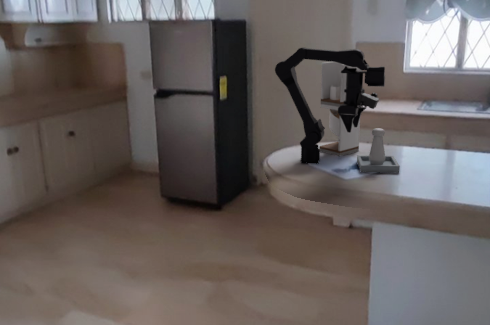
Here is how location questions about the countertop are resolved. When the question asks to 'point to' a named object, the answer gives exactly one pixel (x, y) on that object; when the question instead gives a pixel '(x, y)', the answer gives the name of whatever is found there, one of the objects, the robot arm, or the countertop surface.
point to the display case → (332, 99)
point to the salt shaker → (377, 147)
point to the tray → (387, 167)
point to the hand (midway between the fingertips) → (352, 129)
